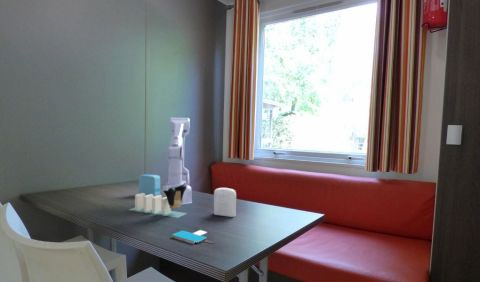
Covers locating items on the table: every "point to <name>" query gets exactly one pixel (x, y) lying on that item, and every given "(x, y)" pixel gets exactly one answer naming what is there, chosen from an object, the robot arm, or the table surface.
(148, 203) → the cream domino
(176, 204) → the ochre domino
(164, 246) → the table surface
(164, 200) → the cream domino
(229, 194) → the photo printer
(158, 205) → the cream domino
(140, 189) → the data package
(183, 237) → the phone stand
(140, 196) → the cream domino
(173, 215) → the teal mat
